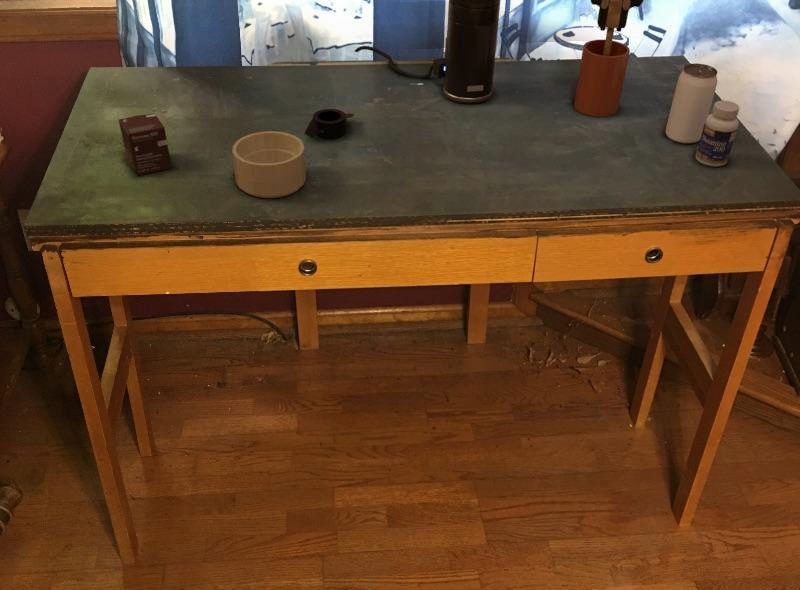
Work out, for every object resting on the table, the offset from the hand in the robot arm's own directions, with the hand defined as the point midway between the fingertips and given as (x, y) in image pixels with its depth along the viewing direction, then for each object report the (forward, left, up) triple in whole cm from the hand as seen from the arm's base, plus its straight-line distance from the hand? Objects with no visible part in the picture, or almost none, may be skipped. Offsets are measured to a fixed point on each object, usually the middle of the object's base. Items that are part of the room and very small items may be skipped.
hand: (610, 29), depth 152 cm
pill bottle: (+25, +7, -15) cm, 30 cm away
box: (-9, -82, -15) cm, 84 cm away
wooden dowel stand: (+1, -1, -10) cm, 10 cm away
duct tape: (-9, -50, -15) cm, 53 cm away
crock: (0, 0, -14) cm, 14 cm away
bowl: (+4, -65, -14) cm, 67 cm away
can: (+16, +8, -15) cm, 23 cm away
